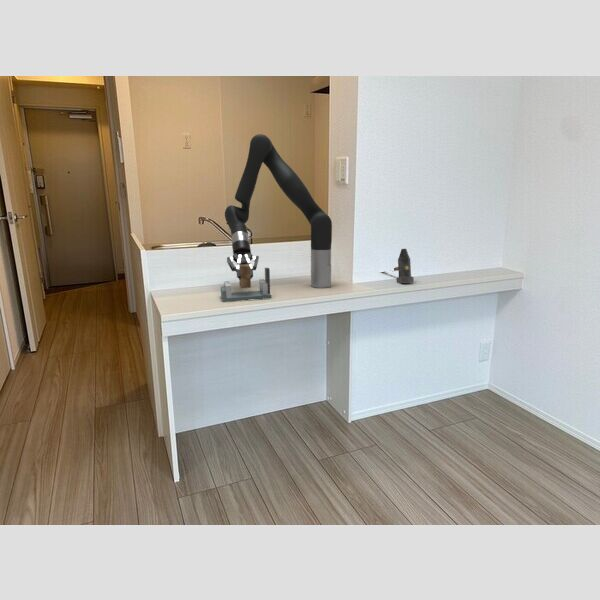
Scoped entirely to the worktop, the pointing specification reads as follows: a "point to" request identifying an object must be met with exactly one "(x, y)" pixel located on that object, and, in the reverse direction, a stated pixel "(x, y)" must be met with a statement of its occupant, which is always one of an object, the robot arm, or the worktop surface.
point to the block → (245, 276)
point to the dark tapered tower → (404, 268)
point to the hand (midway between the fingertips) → (245, 277)
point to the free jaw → (265, 283)
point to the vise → (240, 294)
